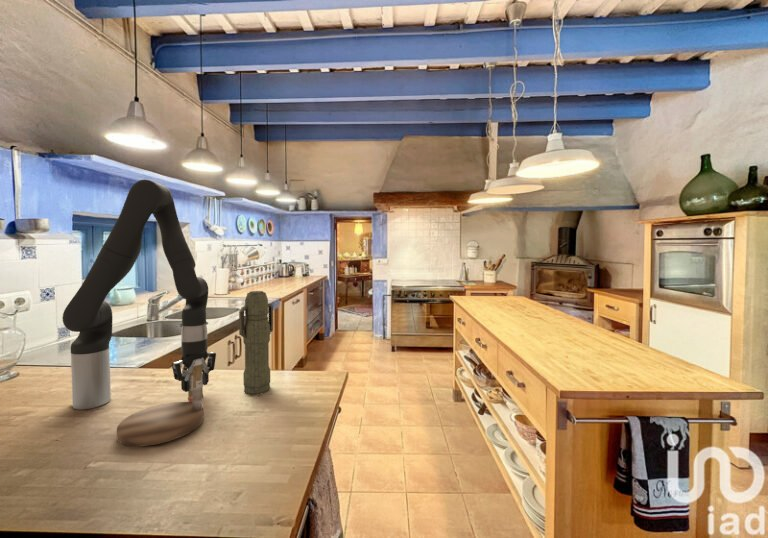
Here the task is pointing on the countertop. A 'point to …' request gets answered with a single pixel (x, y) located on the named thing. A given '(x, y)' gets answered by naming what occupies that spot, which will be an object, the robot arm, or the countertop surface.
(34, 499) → the countertop surface
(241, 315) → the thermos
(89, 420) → the countertop surface
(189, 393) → the sprinkles bottle
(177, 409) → the turntable
